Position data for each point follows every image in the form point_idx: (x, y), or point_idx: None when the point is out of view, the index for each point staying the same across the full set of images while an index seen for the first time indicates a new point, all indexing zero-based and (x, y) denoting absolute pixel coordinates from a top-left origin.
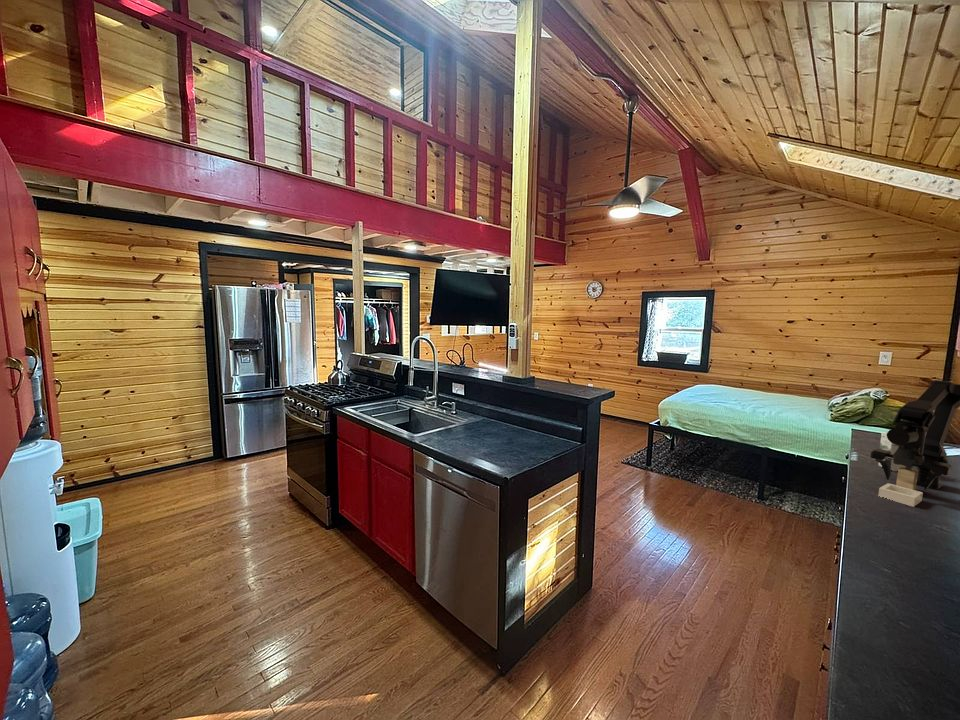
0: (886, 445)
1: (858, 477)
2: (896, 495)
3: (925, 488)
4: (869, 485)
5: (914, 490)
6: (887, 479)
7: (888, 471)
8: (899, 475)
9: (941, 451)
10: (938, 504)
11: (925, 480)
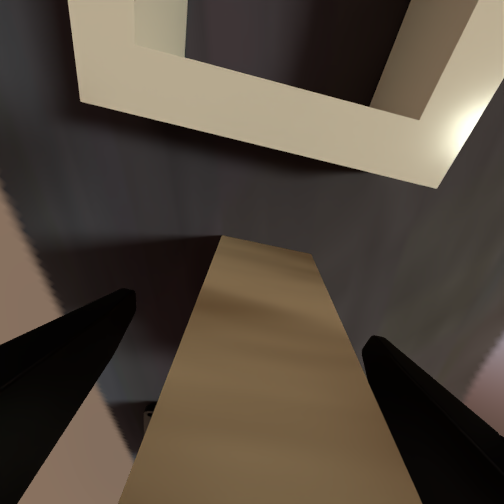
0: None
1: (478, 348)
2: None
3: (117, 292)
4: (475, 229)
5: (168, 104)
6: (381, 337)
7: (445, 435)
8: (345, 378)
9: None
10: (48, 137)
11: None
